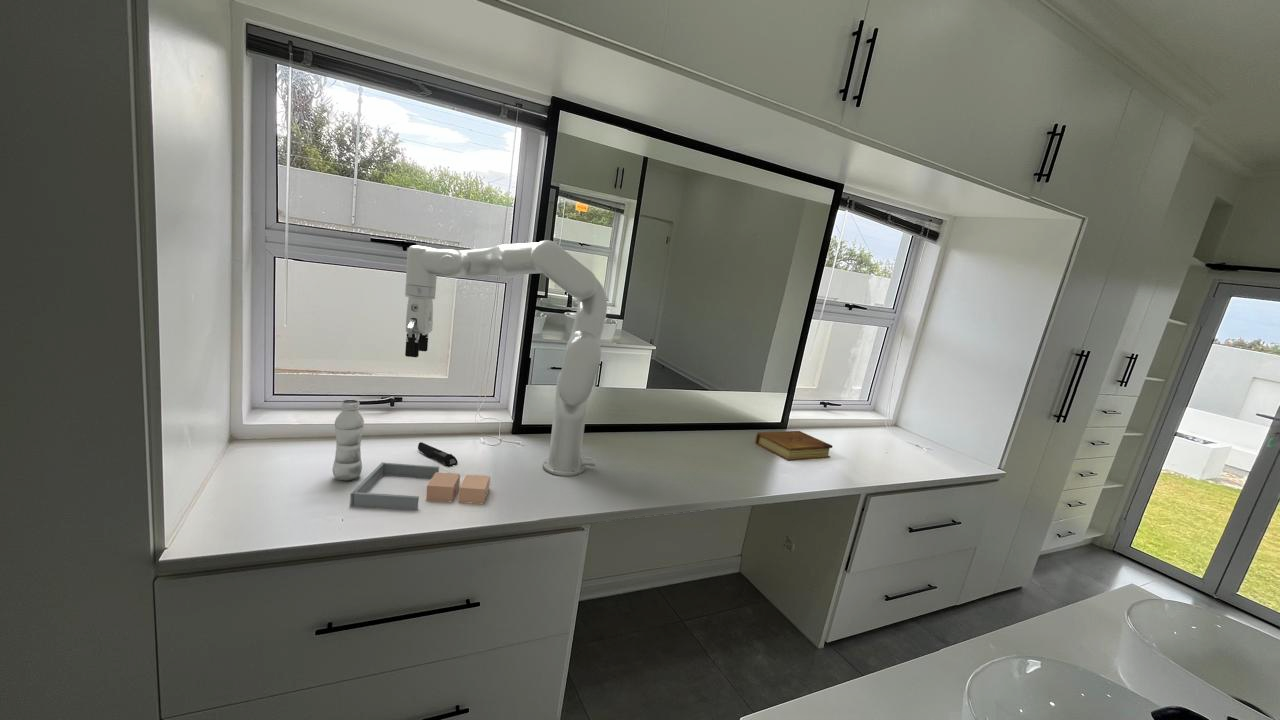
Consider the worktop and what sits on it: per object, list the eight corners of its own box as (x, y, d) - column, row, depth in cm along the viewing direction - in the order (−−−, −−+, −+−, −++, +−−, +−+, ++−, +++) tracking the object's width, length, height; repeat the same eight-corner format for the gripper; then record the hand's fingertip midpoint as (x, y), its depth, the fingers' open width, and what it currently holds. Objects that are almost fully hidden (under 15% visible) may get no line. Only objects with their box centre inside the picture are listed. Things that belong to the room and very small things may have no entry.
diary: (795, 442, 211) (797, 430, 210) (829, 459, 195) (832, 445, 194) (754, 444, 200) (757, 431, 199) (787, 462, 184) (790, 447, 183)
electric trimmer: (425, 450, 149) (426, 440, 148) (458, 465, 141) (459, 454, 140) (414, 453, 145) (414, 442, 145) (447, 468, 137) (448, 457, 137)
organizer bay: (438, 477, 131) (439, 466, 130) (416, 509, 113) (417, 497, 112) (381, 473, 128) (381, 462, 128) (349, 505, 111) (350, 493, 110)
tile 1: (458, 488, 127) (460, 473, 126) (451, 502, 119) (453, 487, 118) (434, 486, 126) (435, 472, 125) (425, 501, 118) (427, 485, 117)
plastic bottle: (330, 484, 119) (333, 405, 116) (333, 473, 125) (336, 397, 122) (361, 482, 122) (365, 405, 119) (362, 471, 128) (365, 398, 125)
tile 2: (488, 490, 128) (490, 476, 127) (483, 504, 120) (484, 489, 119) (465, 488, 127) (466, 474, 126) (457, 502, 119) (459, 487, 118)
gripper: (427, 295, 126) (423, 360, 128) (442, 292, 142) (437, 350, 145) (396, 291, 124) (392, 357, 127) (414, 289, 141) (410, 347, 144)
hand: (416, 353), depth 136 cm, fingers open, 9 cm apart
